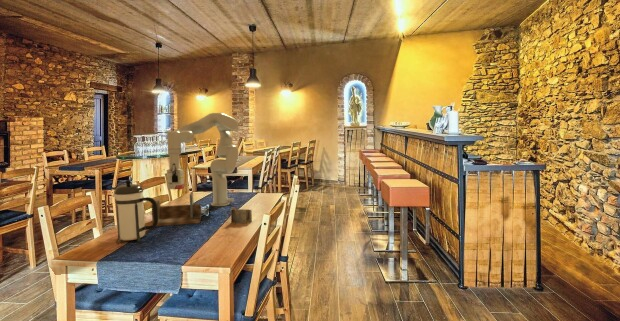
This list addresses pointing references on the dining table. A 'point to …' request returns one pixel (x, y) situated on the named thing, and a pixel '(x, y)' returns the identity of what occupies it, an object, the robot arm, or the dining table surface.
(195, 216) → the bookend
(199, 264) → the dining table surface
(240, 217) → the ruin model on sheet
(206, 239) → the dining table surface
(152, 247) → the dining table surface
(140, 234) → the coffee press
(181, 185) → the ink box
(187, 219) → the walnut shelf
